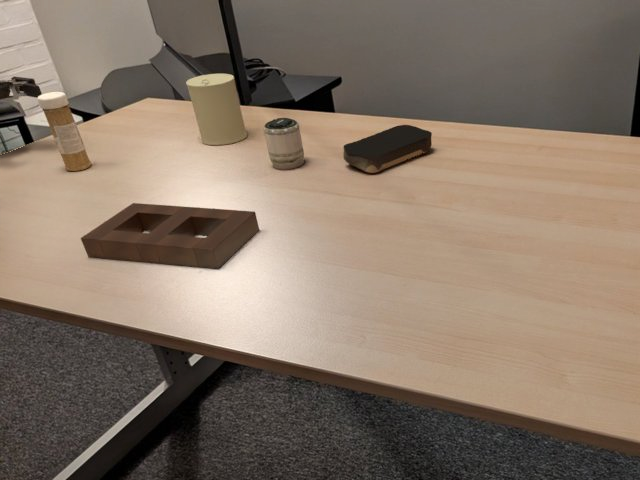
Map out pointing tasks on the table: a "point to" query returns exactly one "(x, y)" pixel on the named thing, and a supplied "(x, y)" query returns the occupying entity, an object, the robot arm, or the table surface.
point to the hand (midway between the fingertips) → (17, 97)
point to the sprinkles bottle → (64, 130)
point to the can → (217, 109)
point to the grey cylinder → (284, 143)
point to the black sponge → (387, 148)
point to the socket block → (172, 235)
